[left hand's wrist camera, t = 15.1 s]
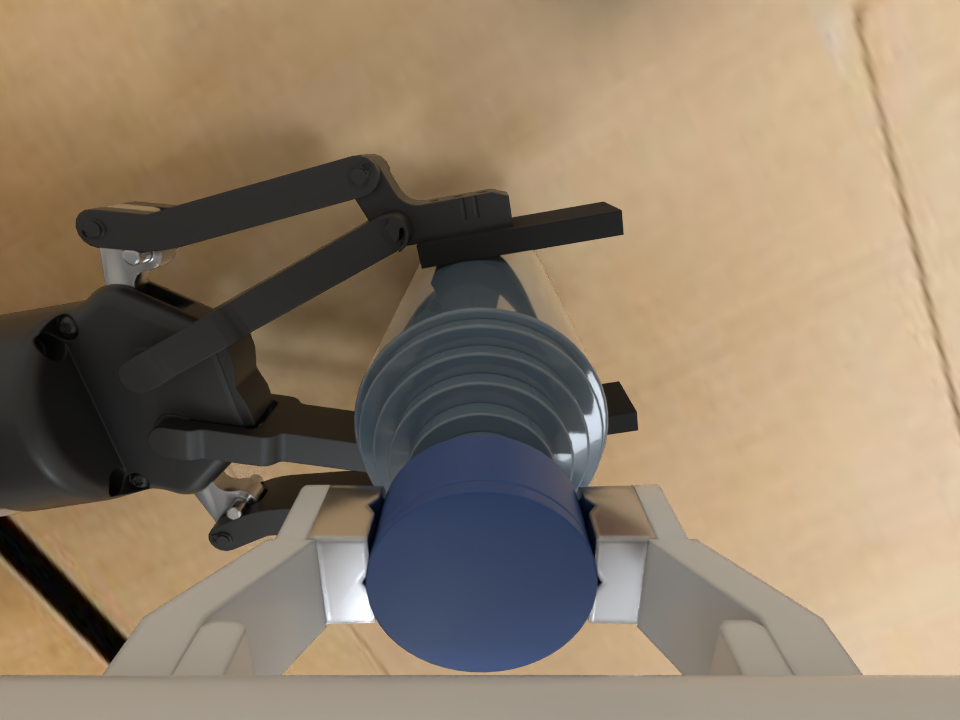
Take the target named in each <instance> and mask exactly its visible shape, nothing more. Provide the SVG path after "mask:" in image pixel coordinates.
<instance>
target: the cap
mask: <svg viewBox="0 0 960 720" xmlns="http://www.w3.org/2000/svg"><path fill="white" fill-rule="evenodd" d="M365 580H366V592H367V597H368V601H369V605H370V607H371V609H372V612H373V614H374V616H375V618H376V620H377V621H378V623H379V625H380V626H381V627H382V628H383V630H384V631H385V632H386V633H387V635H388V636H389V637H390V638H391V639H393V640H394V641H395V642H396V643H397V644H398V645H399V646H401V647H402V648H403V649H405V650H406V651H408V652H409V653H411V654H413V655H415V656H416V657H418V658H420V659H422V660H425V661H427V662H429V663H432V664H435V665H438V666H441V667H444V668H449V669H453V670H458V671H467V672H496V671H504V670H510V669H515V668H518V667H522V666H525V665H528V664H531V663H534V662H536V661H539V660H541V659H543V658H545V657H547V656H549V655H550V654H552V653H554V652H555V651H557V650H558V649H560V648H561V647H563V646H564V645H565V644H566V643H567V642H568V641H570V640H571V639H572V638H573V637H574V636H575V635H576V633H577V632H578V631H579V630H580V629H581V627H582V626H583V624H584V623H585V622H586V620H587V618H588V616H589V614H590V612H591V610H592V608H593V605H594V601H595V598H596V594H597V586H598V576H597V568H596V563H595V559H594V555H593V551H592V548H591V544H590V540H589V537H588V533H587V529H586V526H585V522H584V519H583V515H582V511H581V508H580V504H579V500H578V497H577V494H576V492H575V489H574V487H573V485H572V483H571V482H570V480H569V478H568V477H567V475H566V474H565V473H564V472H563V470H562V469H561V468H560V467H559V466H558V465H557V464H556V463H555V462H554V461H553V460H552V459H550V458H549V457H548V456H546V455H545V454H544V453H542V452H541V451H539V450H537V449H535V448H533V447H531V446H530V445H527V444H524V443H522V442H519V441H517V440H513V439H509V438H505V437H498V436H491V435H474V436H463V437H459V438H454V439H450V440H447V441H444V442H441V443H438V444H436V445H434V446H432V447H430V448H428V449H426V450H424V451H423V452H421V453H420V454H418V455H417V456H415V457H414V458H413V459H411V460H410V461H409V462H408V463H407V464H406V465H405V466H404V467H403V468H402V469H401V470H400V471H399V472H398V474H397V475H396V477H395V478H394V480H393V481H392V483H391V485H390V487H389V489H388V491H387V493H386V497H385V500H384V504H383V508H382V512H381V515H380V519H379V523H378V527H377V530H376V534H375V538H374V542H373V546H372V550H371V553H370V557H369V561H368V564H367V569H366V579H365Z"/></svg>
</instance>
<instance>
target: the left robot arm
mask: <svg viewBox="0 0 960 720" xmlns="http://www.w3.org/2000/svg"><path fill="white" fill-rule="evenodd" d="M385 497H386V490H385V488H384V486H357V485H332V486H331V485H306V486H304V487H303V488H302V489H301V490H300V492H299V494H298V496H297V498H296V500H295V502H294V504H293V506H292V508H291V510H290V512H289V514H288V516H287V517H286V519H285V521H284V523H283V525H282V527H281V529H280V531H279V533H278V535H277V537H276V539H267V540H266V541H264V542H262V543H261V544H259V545H258V546H256V547H254V548H253V549H251V550H250V551H248V552H247V553H245V554H243V555H242V556H240V557H239V558H237V559H235V560H234V561H232V562H231V563H229V564H227V565H226V566H224V567H223V568H221V569H220V570H218V571H216V572H215V573H213V574H212V575H210V576H208V577H207V578H205V579H204V580H202V581H200V582H199V583H197V584H196V585H194V586H193V587H191V588H189V589H188V590H186V591H185V592H183V593H181V594H180V595H178V596H177V597H175V598H173V599H172V600H170V601H169V602H167V603H166V604H164V605H162V606H161V607H159V608H158V609H156V610H154V611H153V612H151V613H150V614H148V615H146V616H145V617H143V619H142V620H141V621H140V623H139V624H138V626H137V627H136V628H135V630H134V631H133V633H132V634H131V635H130V637H129V638H128V640H127V641H126V642H125V644H124V645H123V647H122V648H121V649H120V651H119V652H118V654H117V655H116V656H115V658H114V659H113V661H112V662H111V663H110V665H109V666H108V668H107V669H106V670H105V672H104V673H103V675H0V720H960V675H863V674H862V673H861V672H860V670H859V669H858V667H857V666H856V665H855V663H854V662H853V660H852V659H851V658H850V656H849V655H848V653H847V652H846V651H845V649H844V648H843V646H842V645H841V644H840V642H839V641H838V639H837V638H836V637H835V635H834V634H833V632H832V631H831V630H830V628H829V627H828V625H827V624H826V623H825V621H824V620H823V619H822V618H821V617H819V616H818V615H816V614H815V613H813V612H811V611H810V610H808V609H807V608H805V607H803V606H802V605H800V604H799V603H797V602H795V601H794V600H792V599H791V598H789V597H787V596H786V595H784V594H783V593H781V592H780V591H778V590H776V589H775V588H773V587H772V586H770V585H768V584H767V583H765V582H764V581H762V580H760V579H759V578H757V577H756V576H754V575H752V574H751V573H749V572H748V571H746V570H744V569H743V568H741V567H740V566H738V565H736V564H735V563H733V562H732V561H730V560H729V559H727V558H725V557H724V556H722V555H721V554H719V553H717V552H716V551H714V550H713V549H711V548H709V547H708V546H706V545H705V544H703V543H701V542H700V541H698V540H697V539H688V537H687V535H686V533H685V532H684V530H683V528H682V526H681V524H680V522H679V520H678V519H677V517H676V515H675V513H674V511H673V509H672V507H671V505H670V504H669V502H668V500H667V498H666V496H665V494H664V492H663V491H662V489H661V487H660V486H658V485H631V486H595V487H578V492H577V497H578V500H579V504H580V508H581V511H582V515H583V519H584V522H585V526H586V529H587V533H588V537H589V540H590V544H591V548H592V551H593V555H594V559H595V563H596V568H597V576H598V586H597V594H596V598H595V601H594V605H593V608H592V610H591V612H590V614H589V616H588V621H589V623H615V624H637V627H638V628H639V629H640V630H641V631H642V632H643V633H644V634H645V635H646V636H647V637H648V639H649V640H650V641H651V642H652V643H653V644H654V645H655V646H656V647H657V648H658V649H659V650H660V651H661V652H662V653H663V654H664V655H665V656H666V658H667V659H668V660H669V661H670V662H671V663H672V664H673V665H674V666H675V667H676V668H677V669H678V670H679V671H680V672H681V673H682V674H683V675H281V674H282V673H283V672H284V671H285V670H286V669H287V668H288V667H289V666H290V665H291V664H292V663H293V662H294V661H295V660H296V659H297V658H298V656H299V655H300V654H301V653H302V652H303V651H304V650H305V649H306V648H307V647H308V646H309V645H310V644H311V643H312V642H313V641H314V640H315V638H316V637H317V636H318V635H319V634H320V633H321V632H322V631H323V630H324V629H325V628H326V624H348V623H375V619H376V618H375V616H374V614H373V612H372V609H371V607H370V605H369V601H368V597H367V592H366V580H365V579H366V569H367V564H368V561H369V557H370V553H371V550H372V546H373V542H374V538H375V534H376V530H377V527H378V523H379V519H380V515H381V512H382V508H383V504H384V500H385Z"/></svg>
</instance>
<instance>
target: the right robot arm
mask: <svg viewBox="0 0 960 720" xmlns="http://www.w3.org/2000/svg"><path fill="white" fill-rule="evenodd" d="M353 199H356V201H357V203H358V204H359V206H360V207H361V209H362V211H363V212H364V214H365V215H366V217H367V218H368V221H367V222H365V223H363V224H361V225H360V226H358V227H356V228H354V229H353V230H351V231H349V232H347V233H346V234H344V235H342V236H340V237H339V238H337V239H335V240H333V241H332V242H330V243H328V244H327V245H325V246H323V247H321V248H320V249H318V250H316V251H314V252H313V253H311V254H309V255H307V256H306V257H304V258H302V259H300V260H299V261H297V262H295V263H293V264H292V265H290V266H288V267H286V268H285V269H283V270H281V271H279V272H278V273H276V274H274V275H272V276H271V277H269V278H267V279H265V280H264V281H262V282H260V283H259V284H257V285H255V286H253V287H251V288H249V289H248V290H246V291H244V292H242V293H241V294H239V295H237V296H235V297H234V298H232V299H230V300H228V301H227V302H225V303H223V304H221V305H220V306H218V307H216V308H214V309H213V308H211V307H208V306H206V305H204V304H201V303H199V302H197V301H195V300H192V299H190V298H188V297H185V296H183V295H181V294H179V293H176V292H174V291H172V290H169V289H167V288H165V287H163V286H160V285H158V284H156V283H153V282H151V281H149V274H150V271H151V270H152V269H155V268H157V267H160V266H163V265H165V264H167V263H169V262H171V261H172V260H173V259H174V256H175V250H176V249H177V248H178V247H182V246H185V245H189V244H193V243H196V242H200V241H204V240H207V239H211V238H215V237H218V236H222V235H225V234H229V233H233V232H236V231H240V230H244V229H247V228H251V227H254V226H258V225H262V224H265V223H269V222H273V221H276V220H280V219H284V218H287V217H291V216H294V215H298V214H302V213H305V212H309V211H313V210H316V209H320V208H324V207H327V206H331V205H334V204H338V203H342V202H345V201H349V200H353ZM76 229H77V232H78V234H79V236H80V237H81V238H82V239H83V241H85V242H86V243H88V244H89V245H90V246H94V247H98V248H100V254H101V260H102V267H103V273H104V279H105V286H103V287H101V288H99V289H98V290H96V291H95V292H94V293H93V294H92V295H91V296H90V297H89V298H88V299H87V300H85V301H80V302H74V303H68V304H62V305H57V306H51V307H45V308H39V309H33V310H28V311H22V312H16V313H10V314H5V315H0V516H6V515H14V514H16V513H19V512H22V511H36V510H44V509H50V508H57V507H64V506H71V505H77V504H84V503H91V502H98V501H104V500H110V499H115V498H119V497H122V496H126V495H129V494H132V493H136V492H139V491H142V490H146V489H152V488H155V489H164V490H169V491H172V492H175V493H179V494H195V495H196V497H197V498H198V499H199V500H200V502H201V503H202V504H203V506H204V507H205V508H206V510H207V511H208V512H209V513H210V515H211V516H212V517H213V519H214V520H215V521H216V524H215V525H214V527H213V528H212V529H211V531H210V533H209V541H210V542H211V544H212V545H213V546H214V547H215V548H217V549H220V550H224V551H229V550H233V549H236V548H238V547H241V546H243V545H246V544H248V543H251V542H253V541H256V540H258V539H261V538H263V537H266V536H269V535H278V533H279V531H280V529H281V527H282V525H283V523H284V521H285V519H286V517H287V516H288V514H289V512H290V510H291V508H292V506H293V504H294V502H295V500H296V498H297V496H298V494H299V492H300V490H301V489H302V488H303V487H304V486H306V485H331V486H332V485H357V486H374V485H373V484H372V482H371V480H370V478H369V476H368V474H367V472H366V469H365V466H364V463H363V461H362V459H361V456H360V453H359V450H358V447H357V442H356V437H355V431H354V412H355V411H348V410H341V409H334V408H327V407H320V406H312V405H305V404H302V403H300V401H299V400H298V399H297V398H294V397H290V396H283V395H276V394H271V392H270V390H269V387H268V384H267V382H266V381H265V379H264V378H263V376H262V375H261V373H260V372H259V370H258V369H257V366H256V353H255V345H254V342H253V340H252V337H251V334H250V333H251V332H252V331H254V330H256V329H258V328H260V327H261V326H263V325H265V324H267V323H269V322H270V321H272V320H274V319H276V318H278V317H279V316H281V315H283V314H285V313H287V312H288V311H290V310H292V309H294V308H296V307H297V306H299V305H301V304H303V303H305V302H306V301H308V300H310V299H312V298H314V297H315V296H317V295H319V294H321V293H322V292H324V291H326V290H328V289H330V288H331V287H333V286H335V285H337V284H339V283H340V282H342V281H344V280H346V279H348V278H349V277H351V276H353V275H355V274H357V273H358V272H360V271H362V270H364V269H366V268H367V267H369V266H371V265H373V264H375V263H376V262H378V261H380V260H382V259H384V258H385V257H387V256H389V255H391V254H393V253H394V252H396V251H399V252H400V251H402V250H403V249H404V248H405V247H406V246H408V245H414V244H418V245H417V249H418V254H419V259H420V263H421V268H422V269H424V268H430V267H436V266H442V265H447V264H453V263H459V262H465V261H471V260H477V259H483V258H489V257H495V256H500V255H506V254H512V253H518V252H524V251H530V250H536V249H542V248H547V247H553V246H559V245H565V244H571V243H577V242H583V241H589V240H595V239H600V238H606V237H612V236H618V235H624V234H623V221H622V210H620V209H618V208H616V207H614V206H612V205H610V204H607V203H605V202H599V203H593V204H587V205H582V206H576V207H570V208H564V209H559V210H553V211H547V212H541V213H536V214H530V215H524V216H518V217H513V218H512V216H511V209H510V202H509V196H508V194H507V192H504V191H499V190H495V189H487V190H481V191H476V192H470V193H464V194H459V195H453V196H447V197H442V198H436V199H431V200H425V201H418V200H413V199H411V198H409V197H408V196H406V195H405V194H404V193H403V192H402V190H401V189H400V187H399V186H398V184H397V182H396V181H395V179H394V177H393V176H392V174H391V172H390V167H389V165H388V164H387V162H386V160H384V159H383V158H382V157H381V156H378V155H376V154H365V155H358V156H351V157H348V158H344V159H341V160H337V161H334V162H330V163H327V164H323V165H319V166H316V167H312V168H309V169H305V170H302V171H298V172H295V173H291V174H288V175H284V176H281V177H277V178H273V179H270V180H266V181H263V182H259V183H256V184H252V185H249V186H245V187H242V188H238V189H235V190H231V191H228V192H224V193H220V194H217V195H213V196H210V197H206V198H203V199H199V200H196V201H192V202H189V203H185V204H182V205H178V206H177V205H166V204H156V203H145V202H129V203H123V204H116V205H111V206H105V207H100V208H94V209H88V210H84V211H83V212H81V213H80V214H79V215H78V217H77V219H76ZM602 387H603V390H604V394H605V397H606V402H607V409H608V431H607V435H609V434H616V433H623V432H629V431H636V430H638V423H637V412H636V410H635V408H634V406H633V405H632V403H631V401H630V399H629V398H628V396H627V394H626V393H625V391H624V389H623V387H622V386H621V384H620V382H619V381H618V382H612V383H605V384H602ZM281 461H285V462H293V463H300V464H308V465H315V466H323V467H330V468H338V469H345V470H352V471H341V472H327V473H313V474H299V475H288V476H281V477H277V478H273V479H270V480H267V481H264V482H263V478H262V477H261V476H259V475H252V476H251V477H250V478H242V479H236V478H232V477H230V476H228V475H227V474H226V473H225V472H224V470H225V469H226V468H227V467H228V466H229V465H230V464H231V463H232V462H233V463H240V464H248V465H255V466H270V465H273V464H275V463H277V462H281Z"/></svg>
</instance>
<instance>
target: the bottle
mask: <svg viewBox="0 0 960 720" xmlns="http://www.w3.org/2000/svg"><path fill="white" fill-rule="evenodd" d="M354 431H355V437H356V442H357V447H358V450H359V453H360V456H361V459H362V461H363V463H364V466H365V469H366V472H367V474H368V476H369V478H370V480H371V482H372V484H373V485H374V486H384V488H385V490H386V493H387V491H388V489H389V487H390V485H391V483H392V481H393V480H394V478H395V477H396V475H397V474H398V472H399V471H400V470H401V469H402V468H403V467H404V466H405V465H406V464H407V463H408V462H409V461H410V460H411V459H413V458H414V457H415V456H417V455H418V454H420V453H421V452H423V451H424V450H426V449H428V448H430V447H432V446H434V445H436V444H438V443H441V442H444V441H447V440H450V439H454V438H459V437H463V436H474V435H491V436H498V437H505V438H509V439H513V440H517V441H519V442H522V443H524V444H527V445H530V446H531V447H533V448H535V449H537V450H539V451H541V452H542V453H544V454H545V455H546V456H548V457H549V458H550V459H552V460H553V461H554V462H555V463H556V464H557V465H558V466H559V467H560V468H561V469H562V470H563V472H564V473H565V474H566V475H567V477H568V478H569V480H570V482H571V483H572V485H573V487H574V489H575V492H576V494H577V492H578V487H588V485H589V484H590V482H591V480H592V478H593V476H594V474H595V472H596V470H597V468H598V465H599V461H600V459H601V457H602V454H603V450H604V447H605V444H606V438H607V431H608V409H607V402H606V397H605V394H604V390H603V387H602V384H601V382H600V380H599V377H598V375H597V373H596V371H595V369H594V367H593V365H592V363H591V361H590V359H589V357H588V355H587V353H586V351H585V349H584V347H583V345H582V343H581V341H580V339H579V337H578V335H577V333H576V331H575V329H574V327H573V325H572V323H571V321H570V319H569V317H568V315H567V313H566V311H565V309H564V307H563V305H562V303H561V301H560V299H559V297H558V295H557V293H556V291H555V289H554V287H553V285H552V283H551V281H550V279H549V278H548V276H547V274H546V272H545V270H544V268H543V266H542V264H541V262H540V260H539V258H538V256H537V255H536V253H535V252H534V251H533V250H530V251H524V252H518V253H512V254H506V255H500V256H495V257H489V258H483V259H477V260H471V261H465V262H459V263H453V264H447V265H442V266H436V267H430V268H424V269H422V268H421V263H420V264H419V266H418V268H417V270H416V272H415V274H414V276H413V278H412V280H411V282H410V284H409V286H408V288H407V290H406V292H405V294H404V296H403V298H402V300H401V303H400V305H399V307H398V309H397V311H396V313H395V315H394V317H393V319H392V321H391V323H390V325H389V327H388V329H387V331H386V333H385V335H384V337H383V339H382V341H381V343H380V345H379V347H378V349H377V351H376V353H375V355H374V357H373V359H372V361H371V363H370V365H369V367H368V369H367V371H366V373H365V376H364V378H363V380H362V383H361V385H360V387H359V391H358V395H357V399H356V403H355V412H354Z"/></svg>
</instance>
